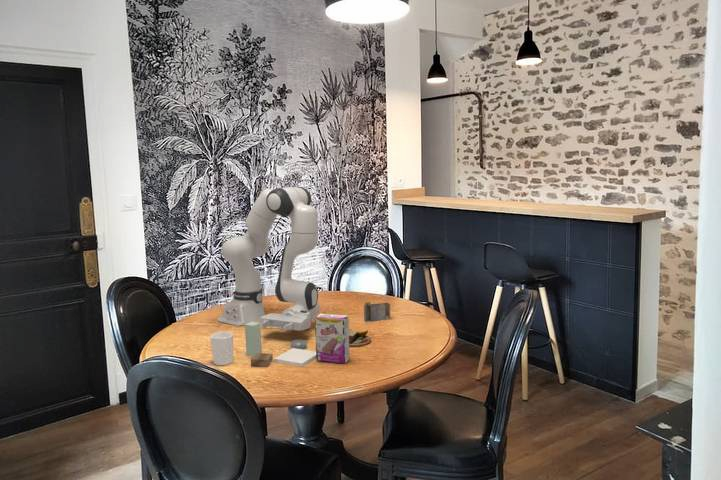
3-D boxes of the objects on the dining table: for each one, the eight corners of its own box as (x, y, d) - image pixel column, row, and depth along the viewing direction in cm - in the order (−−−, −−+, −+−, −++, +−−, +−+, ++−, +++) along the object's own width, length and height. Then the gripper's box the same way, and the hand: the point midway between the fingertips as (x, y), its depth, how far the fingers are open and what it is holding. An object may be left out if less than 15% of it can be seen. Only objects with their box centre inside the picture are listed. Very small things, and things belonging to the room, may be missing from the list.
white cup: (214, 358, 193) (212, 332, 191) (236, 357, 193) (234, 331, 192) (210, 366, 185) (208, 339, 184) (233, 365, 186) (231, 338, 184)
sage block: (246, 356, 195) (244, 324, 193) (253, 352, 198) (251, 321, 196) (255, 357, 193) (253, 325, 191) (262, 354, 196) (260, 322, 195)
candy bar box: (315, 361, 187) (313, 316, 185) (321, 356, 192) (319, 312, 189) (345, 364, 183) (343, 318, 181) (350, 359, 188) (348, 314, 186)
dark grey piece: (366, 323, 232) (365, 301, 231) (364, 321, 235) (363, 300, 234) (390, 321, 235) (390, 299, 234) (388, 319, 238) (388, 298, 236)
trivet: (274, 361, 188) (273, 358, 188) (292, 351, 199) (292, 347, 198) (302, 366, 183) (302, 363, 182) (320, 355, 193) (320, 352, 193)
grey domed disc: (287, 349, 201) (287, 343, 200) (296, 344, 206) (296, 338, 206) (301, 351, 198) (300, 345, 198) (309, 346, 203) (309, 340, 203)
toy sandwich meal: (362, 349, 199) (361, 337, 198) (331, 345, 205) (330, 333, 204) (376, 339, 210) (375, 327, 209) (346, 335, 216) (345, 324, 215)
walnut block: (251, 367, 184) (250, 359, 184) (256, 361, 190) (256, 353, 190) (267, 367, 183) (267, 359, 183) (272, 361, 189) (272, 353, 189)
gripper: (271, 308, 221) (250, 316, 209) (313, 312, 212) (294, 322, 200) (272, 322, 222) (251, 332, 210) (313, 328, 213) (294, 338, 201)
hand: (272, 327), depth 205 cm, fingers open, 8 cm apart
